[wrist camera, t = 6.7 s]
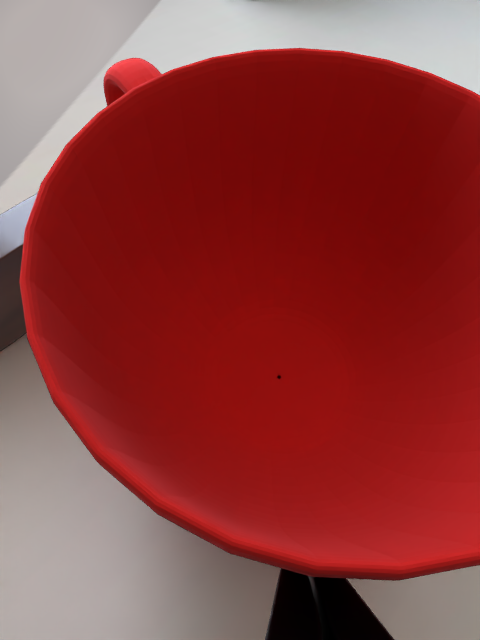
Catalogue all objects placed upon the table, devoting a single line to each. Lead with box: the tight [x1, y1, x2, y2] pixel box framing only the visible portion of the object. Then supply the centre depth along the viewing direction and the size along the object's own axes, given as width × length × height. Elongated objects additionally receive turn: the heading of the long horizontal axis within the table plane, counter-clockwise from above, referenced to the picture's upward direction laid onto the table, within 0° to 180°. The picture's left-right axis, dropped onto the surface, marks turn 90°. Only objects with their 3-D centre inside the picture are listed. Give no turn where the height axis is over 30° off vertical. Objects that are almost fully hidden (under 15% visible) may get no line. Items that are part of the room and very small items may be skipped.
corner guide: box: [0, 193, 38, 351], centre depth 14 cm, size 26×22×4 cm
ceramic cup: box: [19, 48, 480, 581], centre depth 14 cm, size 13×17×10 cm
